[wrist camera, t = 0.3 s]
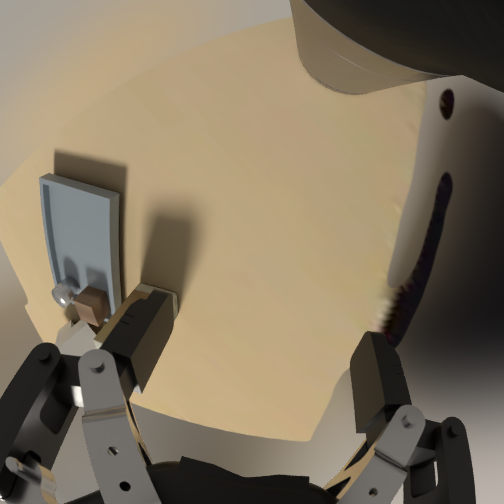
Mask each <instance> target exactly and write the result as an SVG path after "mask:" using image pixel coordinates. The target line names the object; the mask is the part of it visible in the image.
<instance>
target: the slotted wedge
mask: <svg viewBox="0 0 504 504" xmlns="http://www.w3.org/2000/svg"><path fill="white" fill-rule="evenodd" d="M95 336H96V334H95V333H94V332H93V330H92V329H91V328H90V327H89V326H88V324H87V322H85V321H83V320H80V321H79V322H77V323H76V324H75V325H74V324H73V322H72V321H71V320H70V321H69V322H68V323H67V324H66V325H65V326H63V327H62V328H61V329H60V330H59V331H58V335H57V339H56V344H55V345H56V346H57V347H58V349H59V351H60V353H61V354H66V355H74V356H82V355H83V354H85V353H86V352H88V351H90V350H93V349H96V346H95V344H94V341H93V339H94V338H95Z"/></svg>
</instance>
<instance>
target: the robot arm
mask: <svg viewBox="0 0 504 504" xmlns="http://www.w3.org/2000/svg"><path fill="white" fill-rule="evenodd" d="M290 5H291V10H292V16H293V21H294V27H295V33H296V40H297V46H298V52H299V57H300V59H301V61H302V64H303V66H304V67H305V69H306V70H307V71H308V73H309V74H310V75H311V76H312V77H313V78H314V79H315V80H316V81H317V82H319V83H320V84H322V85H323V86H325V87H326V88H329V89H331V90H333V91H335V92H339V93H343V94H351V95H359V94H366V93H370V92H374V91H378V90H383V89H387V88H391V87H396V86H400V85H405V84H410V83H415V82H420V81H426V80H432V79H436V78H443V77H450V76H458V75H464V76H466V77H469V78H472V79H474V80H476V81H478V82H480V83H483V84H485V85H487V86H489V87H491V88H494V89H496V90H498V91H501V92H503V93H504V0H290ZM173 325H174V312H173V296H172V294H171V293H167V292H164V291H160V290H156V289H154V290H153V291H152V292H151V294H150V295H149V296H148V298H147V299H146V300H145V299H141V298H140V299H138V300H137V301H135V302H134V303H132V304H130V306H129V307H128V309H127V310H126V311H125V313H124V315H122V317H121V318H120V320H119V322H117V324H116V325H115V327H114V328H113V329H112V331H111V332H110V334H109V335H108V337H107V338H106V339H105V341H104V342H103V344H102V345H101V347H100V348H99V349H93V350H90V351H88V352H86V353H85V354H83V355H82V356H74V355H66V354H61V353H60V351H59V349H58V347H57V346H56V345H54V344H52V343H41V344H39V345H37V346H36V347H35V348H34V349H33V350H32V351H31V353H30V354H29V355H28V357H27V358H26V360H25V361H24V363H23V364H22V365H21V367H20V369H19V370H18V371H17V373H16V375H15V376H14V378H13V379H12V381H11V382H10V384H9V385H8V387H7V389H6V390H5V392H4V394H3V395H2V397H1V399H0V499H1V500H3V501H5V502H6V503H7V504H58V502H57V500H56V497H55V491H56V481H55V478H54V476H53V474H52V472H51V468H52V466H53V464H54V461H55V459H56V457H57V454H58V451H59V449H60V447H61V445H62V443H63V440H64V438H65V436H66V434H67V431H68V429H69V427H70V425H71V423H72V421H73V418H74V416H75V414H76V412H77V410H78V408H79V406H80V407H84V411H85V415H84V416H82V426H83V431H84V435H85V440H86V444H87V449H88V452H89V456H90V460H91V464H92V467H93V470H94V474H95V477H96V480H97V483H98V486H99V489H100V490H98V491H95V492H93V493H91V494H88V495H86V496H83V497H81V498H78V499H75V500H73V501H70V502H67V503H64V504H390V503H391V501H392V500H393V498H394V496H395V495H396V494H397V492H398V490H399V489H400V487H401V485H402V483H403V485H404V488H403V491H404V501H403V503H404V504H476V496H475V484H474V475H473V468H472V461H471V455H470V449H469V444H468V438H467V434H466V429H465V426H464V424H463V423H462V422H461V420H459V419H458V418H456V417H448V418H446V419H445V420H444V421H443V422H442V423H438V422H434V421H430V420H427V419H425V417H424V415H423V414H422V412H421V411H420V410H419V409H418V408H417V407H415V406H413V405H412V403H411V399H410V395H409V391H408V387H407V383H406V380H405V376H404V372H403V369H402V367H401V366H402V365H401V361H400V358H399V356H398V354H397V352H396V351H395V349H394V348H393V347H392V346H388V343H387V340H386V336H385V334H384V333H379V332H371V331H367V332H365V334H364V335H363V337H362V339H361V341H360V342H359V344H358V346H357V348H356V349H355V351H354V353H353V355H352V357H351V361H350V373H351V381H352V390H353V400H354V409H355V422H356V433H366V439H365V440H364V441H363V442H362V444H361V445H360V447H359V448H358V449H357V451H356V452H355V453H354V455H353V456H352V457H351V458H350V460H349V461H348V462H347V463H346V465H345V466H344V467H343V468H342V470H341V471H340V472H339V473H338V474H337V475H336V476H335V477H334V478H333V479H331V480H330V481H329V482H328V483H327V484H326V485H325V486H324V487H323V488H321V487H319V486H317V485H314V484H312V483H309V477H308V476H291V475H271V476H261V477H249V478H248V477H242V476H239V475H237V474H234V473H232V472H230V471H227V470H225V469H223V468H221V467H218V466H216V465H214V464H210V463H206V462H202V461H198V460H194V459H191V458H187V457H183V456H182V457H181V460H180V461H167V462H161V463H156V464H153V462H152V460H151V457H150V455H149V453H148V450H147V448H146V446H145V443H144V441H143V439H142V436H141V433H140V430H139V427H138V425H137V422H136V419H135V415H134V413H133V409H132V406H131V402H130V396H131V394H132V392H133V391H134V392H137V393H140V394H142V392H143V390H144V388H145V386H146V384H147V382H148V380H149V378H150V376H151V374H152V372H153V370H154V367H155V365H156V363H157V361H158V359H159V357H160V355H161V353H162V351H163V349H164V347H165V345H166V343H167V341H168V339H169V337H170V335H171V333H172V330H173ZM435 461H436V462H437V470H438V484H437V486H436V482H435V481H436V480H435V468H434V462H435Z"/></svg>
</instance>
